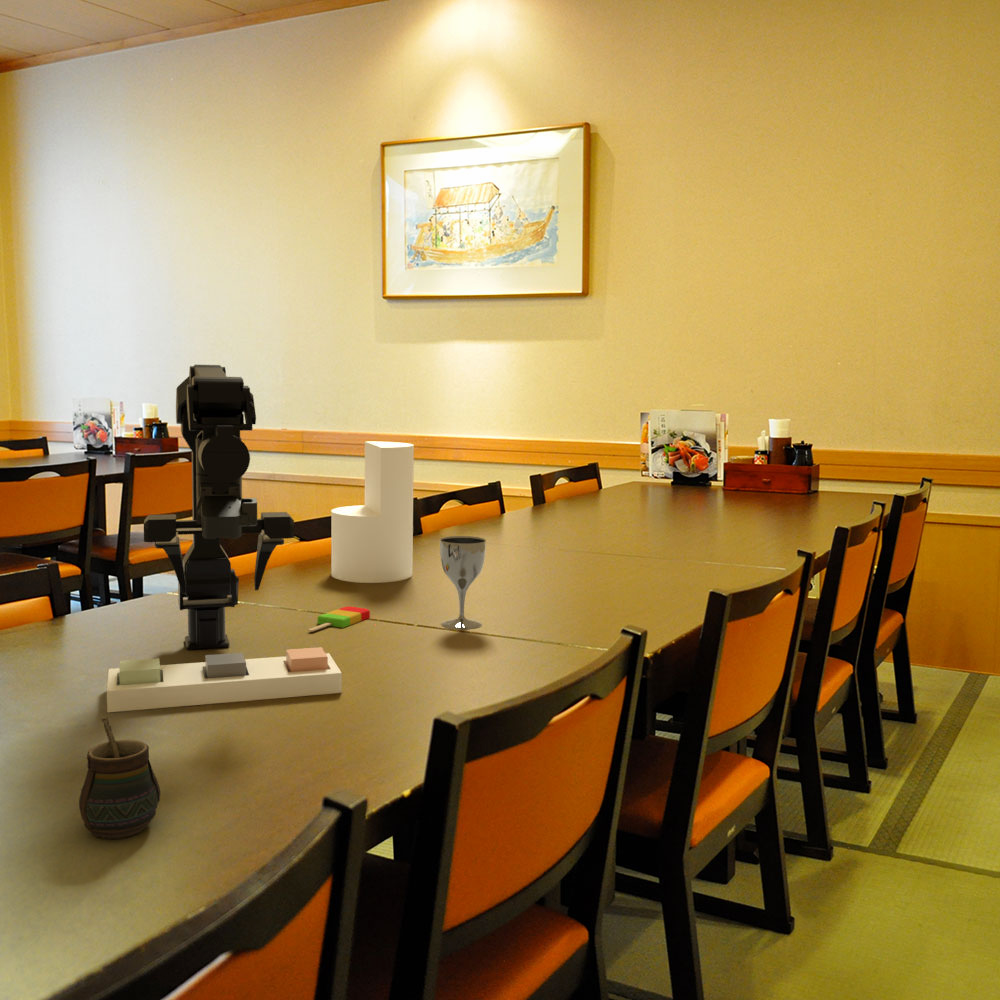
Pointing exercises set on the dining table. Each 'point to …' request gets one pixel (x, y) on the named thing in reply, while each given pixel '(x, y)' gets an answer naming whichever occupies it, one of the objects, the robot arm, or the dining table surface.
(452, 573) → the wine glass
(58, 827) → the dining table surface
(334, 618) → the popsicle
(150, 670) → the sage key
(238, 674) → the charcoal key
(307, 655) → the terracotta key
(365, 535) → the cylinder
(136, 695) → the cream block puzzle board
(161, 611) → the dining table surface
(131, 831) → the mate gourd
